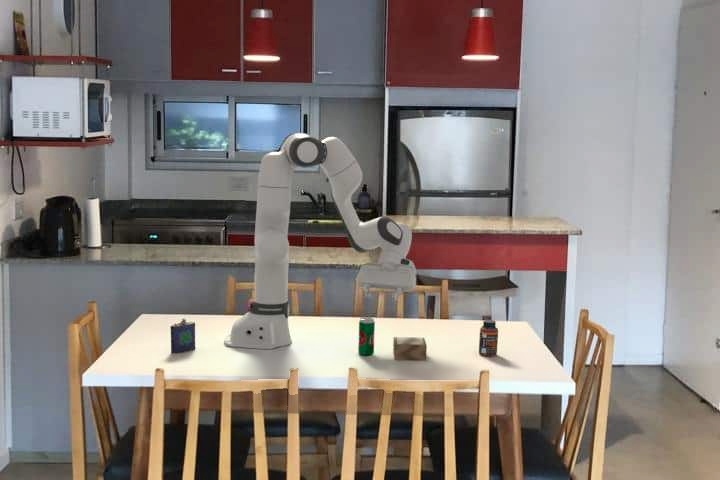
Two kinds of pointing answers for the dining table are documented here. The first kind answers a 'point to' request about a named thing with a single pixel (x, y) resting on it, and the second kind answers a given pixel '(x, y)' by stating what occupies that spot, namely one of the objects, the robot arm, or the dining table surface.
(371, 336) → the soda can
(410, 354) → the base block
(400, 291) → the robot arm
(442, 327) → the dining table surface
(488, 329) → the supplement bottle
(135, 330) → the dining table surface
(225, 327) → the dining table surface
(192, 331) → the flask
